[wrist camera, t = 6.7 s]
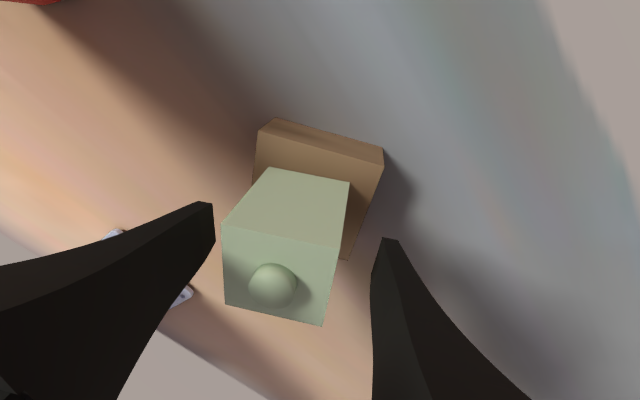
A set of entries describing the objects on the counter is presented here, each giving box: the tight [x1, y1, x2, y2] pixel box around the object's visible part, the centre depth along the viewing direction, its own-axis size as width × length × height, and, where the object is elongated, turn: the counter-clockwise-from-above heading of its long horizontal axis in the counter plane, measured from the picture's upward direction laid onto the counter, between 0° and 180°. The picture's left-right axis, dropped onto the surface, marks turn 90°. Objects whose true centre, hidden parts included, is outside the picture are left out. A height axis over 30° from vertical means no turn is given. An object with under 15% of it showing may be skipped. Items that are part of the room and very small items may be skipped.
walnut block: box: [252, 117, 385, 261], centre depth 15 cm, size 6×6×3 cm
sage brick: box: [220, 167, 350, 327], centre depth 12 cm, size 4×4×6 cm
